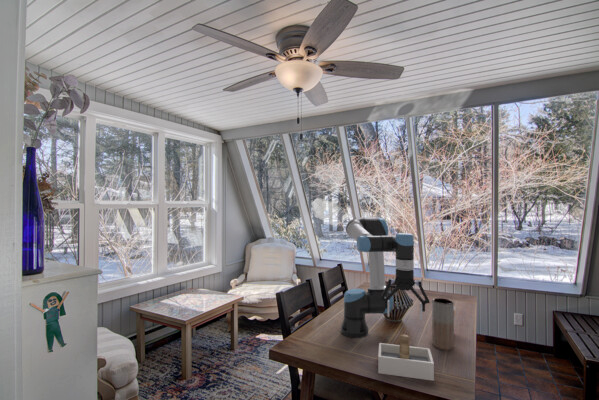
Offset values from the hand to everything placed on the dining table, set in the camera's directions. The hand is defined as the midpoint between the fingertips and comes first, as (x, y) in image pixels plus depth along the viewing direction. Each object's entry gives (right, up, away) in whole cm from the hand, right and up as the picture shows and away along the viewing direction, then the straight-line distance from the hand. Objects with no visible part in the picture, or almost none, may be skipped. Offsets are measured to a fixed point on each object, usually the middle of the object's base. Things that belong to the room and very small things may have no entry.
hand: (404, 317), depth 141 cm
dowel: (0, -22, 0) cm, 22 cm away
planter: (+27, -23, +22) cm, 42 cm away
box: (0, -22, 0) cm, 22 cm away
